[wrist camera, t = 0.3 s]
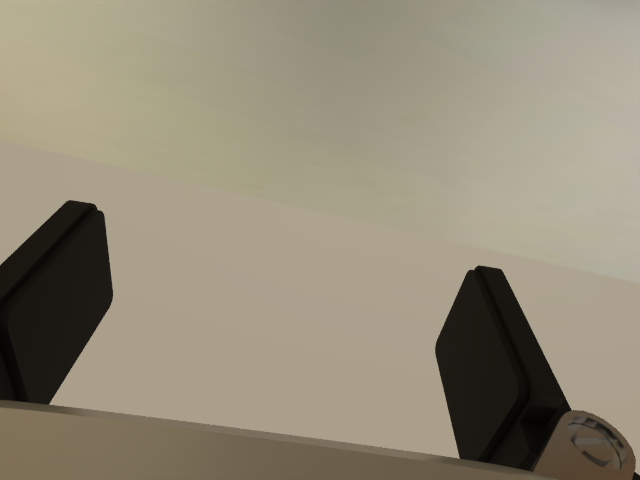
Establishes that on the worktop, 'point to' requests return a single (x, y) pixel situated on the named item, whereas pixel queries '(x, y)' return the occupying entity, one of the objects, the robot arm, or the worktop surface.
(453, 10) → the worktop surface
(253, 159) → the worktop surface
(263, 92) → the worktop surface
